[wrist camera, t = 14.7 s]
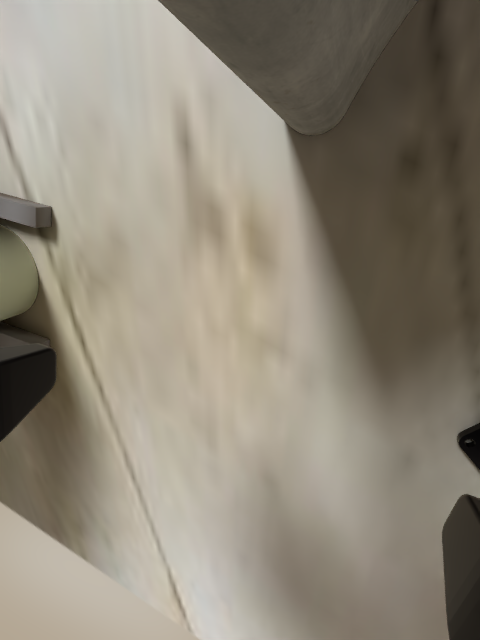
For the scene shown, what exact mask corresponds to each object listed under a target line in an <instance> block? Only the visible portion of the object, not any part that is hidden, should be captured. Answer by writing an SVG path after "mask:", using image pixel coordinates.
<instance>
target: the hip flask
mask: <svg viewBox="0 0 480 640" xmlns="http://www.w3.org/2000/svg"><path fill="white" fill-rule="evenodd" d="M158 1H159V2H160V3H162V4H163V5H164V6H165V7H166V8H167V9H168V10H169V11H170V12H171V13H172V14H173V15H174V16H175V17H176V18H177V19H178V20H179V21H180V22H181V23H182V24H184V25H185V26H186V27H187V28H188V29H189V30H190V31H191V32H192V33H193V34H194V35H195V36H196V37H197V38H198V39H199V40H200V41H201V42H202V43H203V44H204V45H206V46H207V47H208V48H209V49H210V50H211V51H212V52H213V53H214V54H215V55H216V56H217V57H218V58H219V59H220V60H221V61H222V62H223V63H224V64H225V65H226V66H228V67H229V68H230V69H231V70H232V71H233V72H234V73H235V74H236V75H237V76H238V77H239V78H240V79H241V80H242V81H243V82H244V83H245V84H246V85H247V86H248V87H250V88H251V89H252V90H253V91H254V92H255V93H256V94H257V95H258V96H259V97H260V98H261V99H262V100H263V101H264V102H265V103H266V104H267V105H268V106H269V107H270V108H272V109H273V110H274V111H275V112H276V113H277V114H278V115H279V116H280V117H281V118H282V119H283V120H284V121H285V122H286V123H287V124H288V125H289V126H290V127H291V128H293V129H294V130H295V131H297V132H299V133H301V134H304V135H319V134H322V133H325V132H327V131H329V130H331V129H332V128H333V127H335V126H336V125H337V124H338V123H339V122H340V121H341V120H342V118H343V116H344V115H345V113H346V112H347V110H348V108H349V106H350V104H351V103H352V101H353V99H354V97H355V95H356V94H357V92H358V90H359V88H360V87H361V85H362V83H363V82H364V80H365V78H366V77H367V75H368V73H369V72H370V70H371V68H372V67H373V65H374V64H375V62H376V61H377V59H378V57H379V56H380V54H381V53H382V51H383V50H384V48H385V47H386V45H387V44H388V42H389V41H390V39H391V38H392V36H393V35H394V33H395V32H396V31H397V29H398V28H399V26H400V25H401V23H402V22H403V20H404V19H405V18H406V16H407V15H408V13H409V12H410V11H411V9H412V8H413V7H414V5H415V4H416V3H417V1H418V0H158Z"/></svg>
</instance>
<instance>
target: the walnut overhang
mask: <svg viewBox="0 0 480 640" xmlns="http://www.w3.org/2000/svg"><path fill="white" fill-rule="evenodd" d="M0 218H3V219H7V220H10V221H13V222H17V223H20V224H24V225H27V226H30V227H34V228H41V227H50V226H51V207H50V206H46V205H43V204H39V203H35V202H32V201H28V200H24V199H21V198H17V197H14V196H10V195H6V194H3V193H0ZM35 343H39V344H43V345H45V346H48V347H50V340H49V339H46V338H44V337H41V336H38V335H35V334H33V333H30V332H27V331H24V330H22V329H19V328H16V327H13V326H11V325H8V324H5V323H2V322H0V347H9V346H18V345H26V344H35Z"/></svg>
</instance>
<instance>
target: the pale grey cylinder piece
mask: <svg viewBox="0 0 480 640" xmlns="http://www.w3.org/2000/svg"><path fill="white" fill-rule="evenodd" d="M38 284H39V282H38V273H37V269H36V265H35V262H34V259H33V257H32V255H31V253H30V251H29V250H28V248H27V246H26V245H25V244H24V242H23V241H22V240H21V239H20V238H19V237H18V236H17V235H16V234H15V233H14V232H12V231H11V230H10V229H8V228H6V227H4V226H2V225H0V321H2V320H5V319H7V318H10V317H13V316H16V315H19V314H21V313H24V312H25V311H27V310H28V309H29V308H30V307H31V306H32V305H33V303H34V301H35V299H36V297H37V293H38Z"/></svg>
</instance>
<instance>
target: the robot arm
mask: <svg viewBox="0 0 480 640" xmlns="http://www.w3.org/2000/svg"><path fill="white" fill-rule="evenodd" d="M55 382H56V352H55V350H54V349H53V348H51V347H48V346H45V345H43V344H39V343H35V344H26V345H18V346H9V347H0V442H1V441H2V440H3V439H4V438H5V437H6V436H7V435H8V434H9V433H10V432H11V431H12V430H13V429H14V428H15V427H16V426H17V425H18V424H19V423H20V422H21V421H22V420H23V419H24V418H25V417H26V415H27V414H28V413H29V412H30V411H31V410H32V409H33V408H34V407H35V406H36V405H37V404H38V403H39V402H40V401H41V400H42V399H43V398H44V397H45V395H46V394H47V393H48V392H49V391H50V390H51V389H52V388H53V386H54V384H55ZM467 439H473V441H472V442H469V443H467V442H465V440H467ZM457 440H458V443H459V445H460V447H461V448H462V449H463V451H464V452H465V453H466V454H467V455H468V457H469V458H470V459H471V460H472V461H473V463H474V464H475V465H476V466H477V467H478V468H479V470H480V423H479V424H477V425H474V426H472V427H470V428H468V429H466V430H464V431H462V432H460V433H459V434H458V436H457ZM442 544H443V562H444V579H445V596H446V612H447V624H448V631H449V639H450V640H480V498H477V497H474V496H471V495H468V494H464V495H462V496H461V497H460V498H459V499H458V501H457V502H456V504H455V506H454V508H453V509H452V511H451V513H450V515H449V517H448V518H447V520H446V522H445V524H444V527H443V531H442Z"/></svg>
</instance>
